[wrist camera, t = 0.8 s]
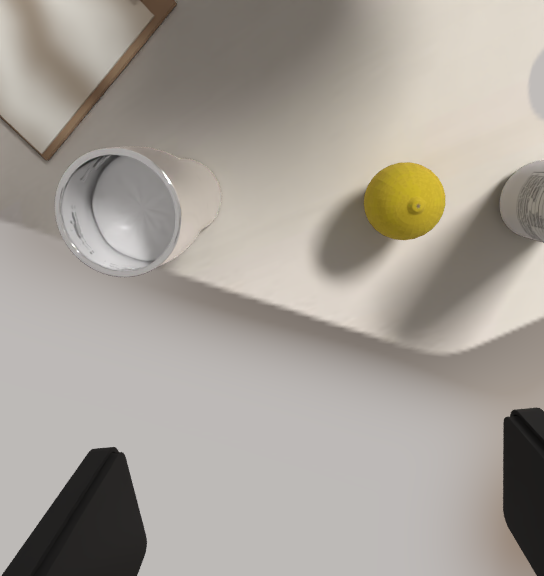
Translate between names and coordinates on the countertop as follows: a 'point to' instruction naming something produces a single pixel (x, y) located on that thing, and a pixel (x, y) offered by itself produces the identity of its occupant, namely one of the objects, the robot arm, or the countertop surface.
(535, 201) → the energy drink can
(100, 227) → the beer glass
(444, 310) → the countertop surface
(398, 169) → the lemon
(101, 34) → the clipboard
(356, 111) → the countertop surface
